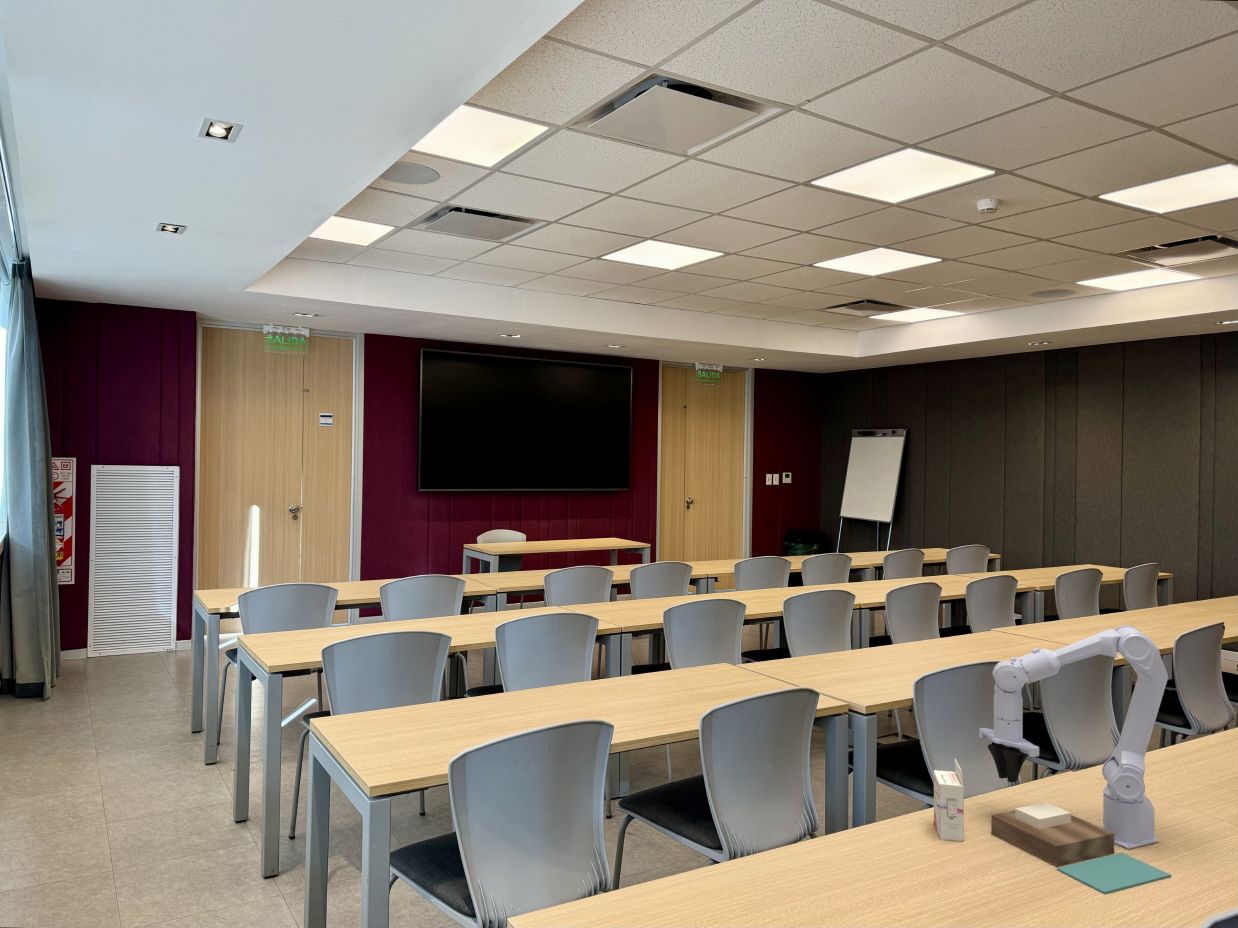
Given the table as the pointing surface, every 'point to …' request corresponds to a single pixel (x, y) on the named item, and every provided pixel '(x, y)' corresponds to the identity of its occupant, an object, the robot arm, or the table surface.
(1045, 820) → the tile
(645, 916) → the table surface
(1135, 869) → the mat
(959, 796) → the ink cartridge box
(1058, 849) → the stand
